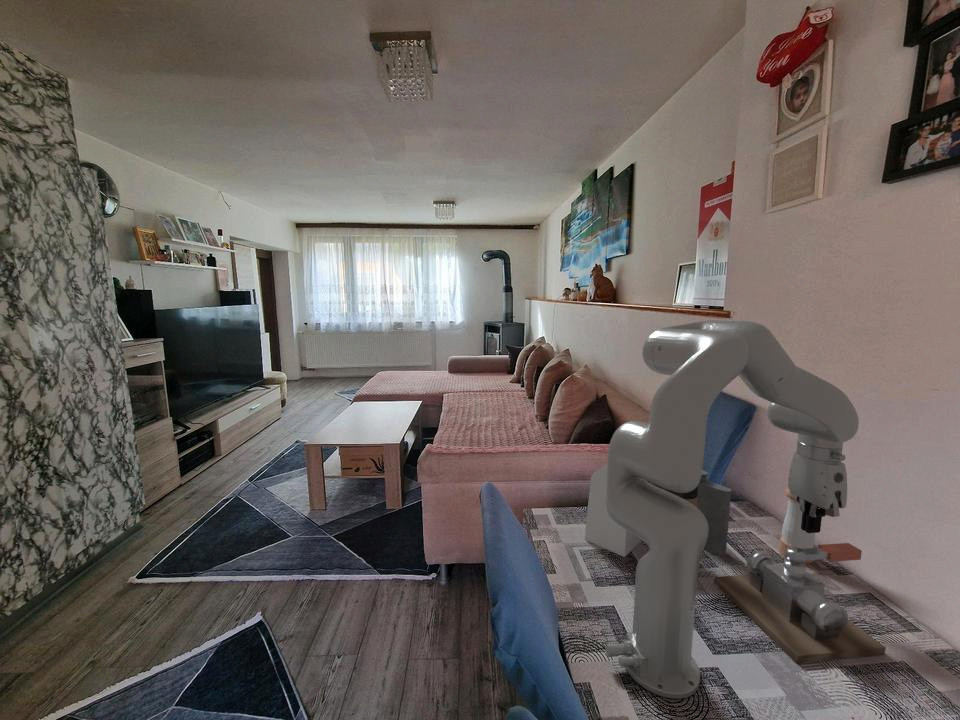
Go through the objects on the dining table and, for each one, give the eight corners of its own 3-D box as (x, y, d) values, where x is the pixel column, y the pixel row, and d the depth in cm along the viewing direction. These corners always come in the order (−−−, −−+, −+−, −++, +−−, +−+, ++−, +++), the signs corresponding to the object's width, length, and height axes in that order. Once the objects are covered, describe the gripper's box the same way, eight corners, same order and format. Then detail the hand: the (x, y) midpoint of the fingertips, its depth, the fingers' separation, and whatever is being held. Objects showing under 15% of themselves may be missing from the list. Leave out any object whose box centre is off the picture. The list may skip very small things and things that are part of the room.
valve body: (814, 644, 76) (820, 594, 75) (742, 580, 94) (746, 539, 92) (848, 641, 77) (854, 591, 75) (770, 578, 94) (774, 538, 93)
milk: (605, 523, 121) (609, 438, 118) (643, 538, 113) (649, 448, 110) (584, 539, 113) (588, 448, 110) (624, 557, 105) (630, 459, 102)
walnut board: (796, 663, 73) (797, 655, 73) (713, 582, 95) (714, 576, 95) (884, 654, 76) (885, 647, 75) (783, 577, 97) (784, 571, 97)
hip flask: (728, 553, 107) (735, 480, 104) (718, 558, 105) (725, 483, 102) (674, 525, 121) (679, 460, 118) (665, 528, 119) (669, 462, 116)
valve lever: (794, 567, 82) (796, 555, 82) (781, 557, 85) (782, 546, 85) (861, 562, 84) (862, 551, 84) (845, 553, 87) (847, 542, 87)
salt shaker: (815, 554, 107) (823, 484, 104) (812, 567, 101) (821, 493, 99) (780, 543, 112) (787, 476, 109) (776, 555, 106) (784, 484, 104)
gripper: (870, 463, 81) (860, 549, 84) (803, 439, 96) (796, 513, 99) (836, 465, 81) (827, 552, 83) (774, 441, 95) (767, 515, 98)
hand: (810, 530), depth 91 cm, fingers closed
